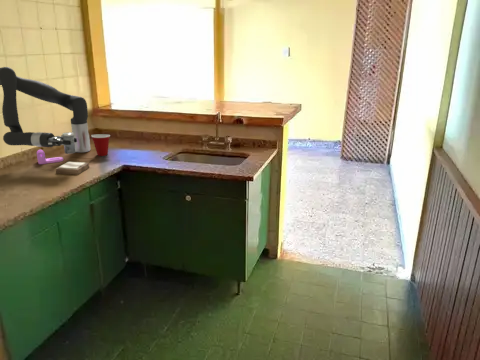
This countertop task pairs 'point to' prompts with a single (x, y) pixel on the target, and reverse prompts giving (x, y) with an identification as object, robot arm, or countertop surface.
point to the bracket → (49, 160)
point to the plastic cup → (101, 143)
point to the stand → (72, 168)
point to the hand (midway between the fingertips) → (73, 141)
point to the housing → (71, 148)
